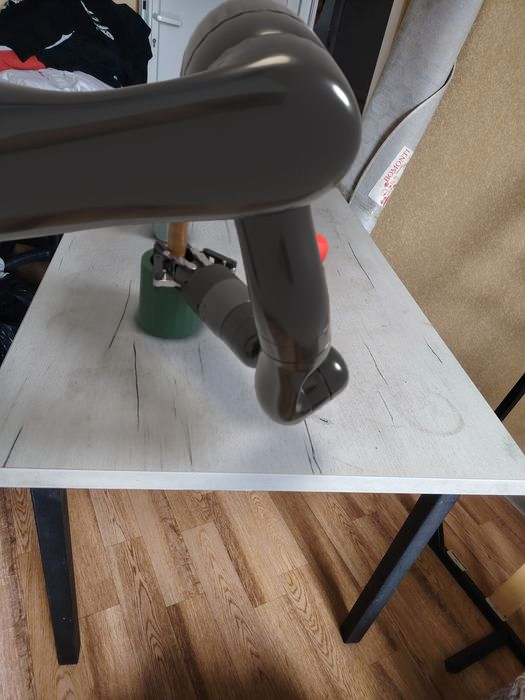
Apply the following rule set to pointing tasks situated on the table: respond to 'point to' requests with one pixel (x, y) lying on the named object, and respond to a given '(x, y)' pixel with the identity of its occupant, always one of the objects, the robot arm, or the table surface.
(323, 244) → the apple
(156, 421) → the table surface
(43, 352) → the table surface
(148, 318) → the green cup
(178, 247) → the brown and grey cylinder
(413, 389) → the table surface
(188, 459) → the table surface
